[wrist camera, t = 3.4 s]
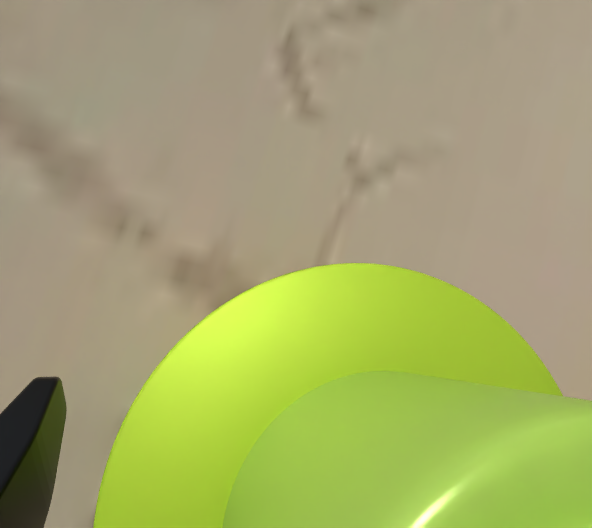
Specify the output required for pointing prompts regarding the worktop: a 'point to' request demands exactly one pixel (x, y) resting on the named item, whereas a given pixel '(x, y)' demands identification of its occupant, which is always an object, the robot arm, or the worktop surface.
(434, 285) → the soap dispenser
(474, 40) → the worktop surface
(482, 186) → the worktop surface
